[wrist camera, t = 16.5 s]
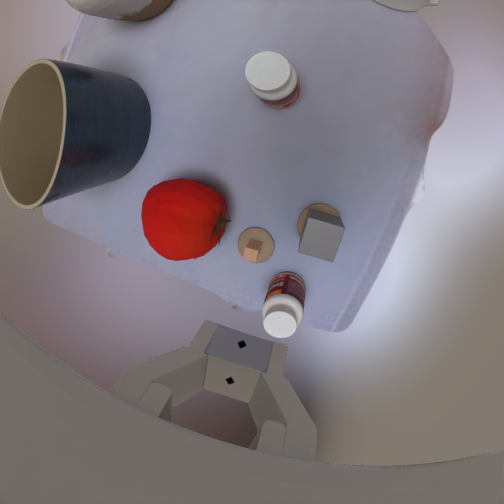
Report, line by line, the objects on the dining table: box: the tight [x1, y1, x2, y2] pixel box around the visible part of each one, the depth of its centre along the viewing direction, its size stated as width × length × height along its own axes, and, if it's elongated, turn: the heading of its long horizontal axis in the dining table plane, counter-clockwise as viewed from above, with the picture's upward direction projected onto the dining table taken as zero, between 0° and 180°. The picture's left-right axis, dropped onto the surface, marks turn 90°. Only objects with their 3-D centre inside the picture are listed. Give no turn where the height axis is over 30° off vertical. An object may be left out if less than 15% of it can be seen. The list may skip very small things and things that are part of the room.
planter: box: [0, 59, 150, 209], centre depth 33 cm, size 22×22×20 cm
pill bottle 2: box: [262, 272, 305, 338], centre depth 41 cm, size 6×6×11 cm
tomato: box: [141, 179, 231, 261], centre depth 40 cm, size 13×13×13 cm
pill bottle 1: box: [245, 51, 300, 108], centre depth 30 cm, size 6×6×11 cm
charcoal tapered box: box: [298, 208, 345, 262], centre depth 38 cm, size 5×5×6 cm
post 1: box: [238, 227, 274, 263], centre depth 43 cm, size 6×6×4 cm
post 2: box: [298, 204, 340, 236], centre depth 39 cm, size 7×7×6 cm
